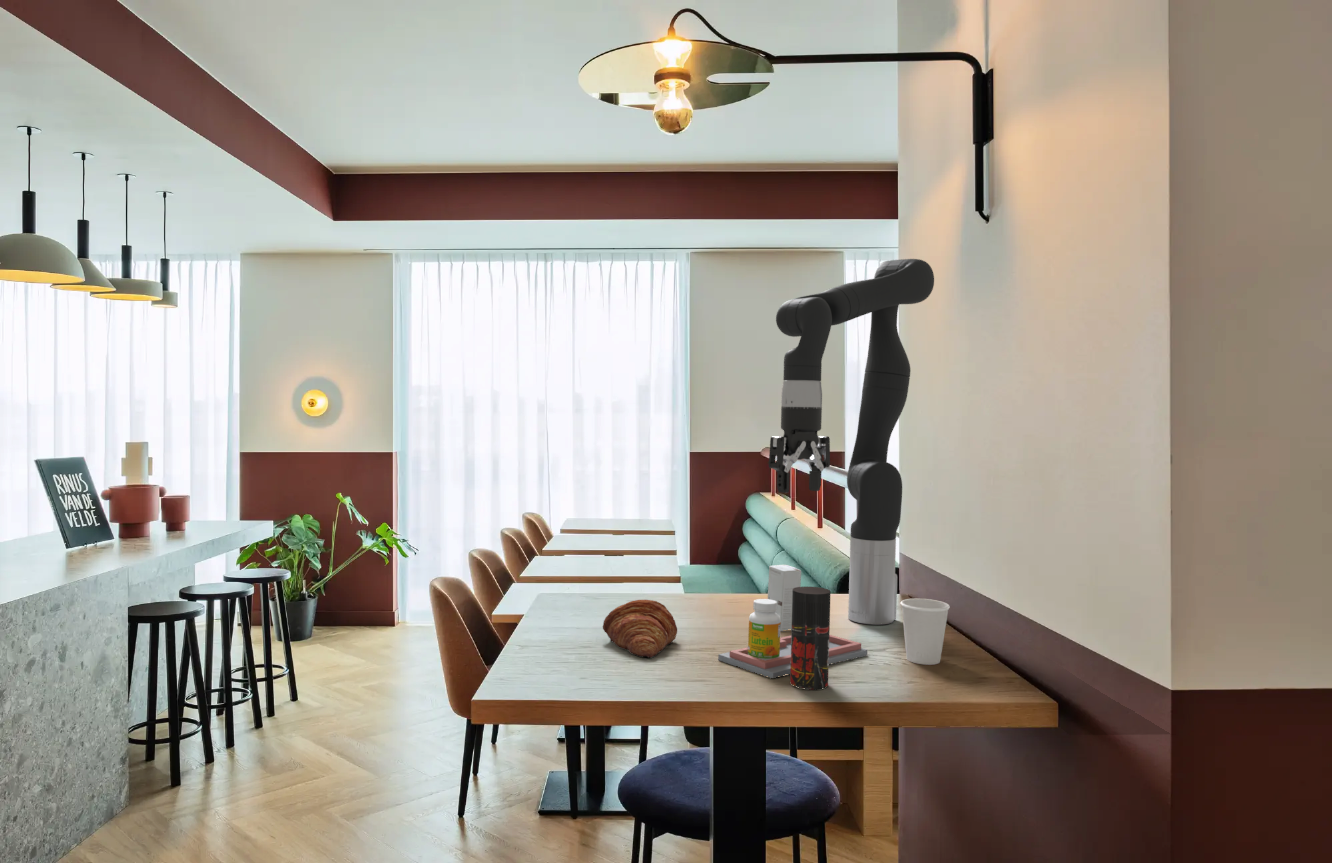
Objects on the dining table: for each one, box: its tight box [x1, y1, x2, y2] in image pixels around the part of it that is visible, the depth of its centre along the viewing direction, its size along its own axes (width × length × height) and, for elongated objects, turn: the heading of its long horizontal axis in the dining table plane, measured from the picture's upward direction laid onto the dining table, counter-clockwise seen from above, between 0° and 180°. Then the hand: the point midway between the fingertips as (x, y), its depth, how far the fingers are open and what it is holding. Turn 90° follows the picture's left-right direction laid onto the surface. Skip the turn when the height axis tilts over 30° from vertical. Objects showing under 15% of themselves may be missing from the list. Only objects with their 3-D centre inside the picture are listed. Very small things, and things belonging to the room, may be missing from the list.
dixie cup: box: [900, 597, 951, 666], centre depth 156 cm, size 8×8×10 cm
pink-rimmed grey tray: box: [717, 634, 868, 679], centre depth 155 cm, size 24×13×2 cm, turn 129°
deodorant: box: [789, 586, 831, 691], centre depth 140 cm, size 6×6×15 cm
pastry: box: [602, 599, 678, 659], centre depth 163 cm, size 17×15×8 cm
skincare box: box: [767, 564, 802, 632], centre depth 177 cm, size 6×4×12 cm
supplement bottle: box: [747, 598, 781, 661], centre depth 151 cm, size 5×5×10 cm
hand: (799, 491), depth 167 cm, fingers open, 8 cm apart
